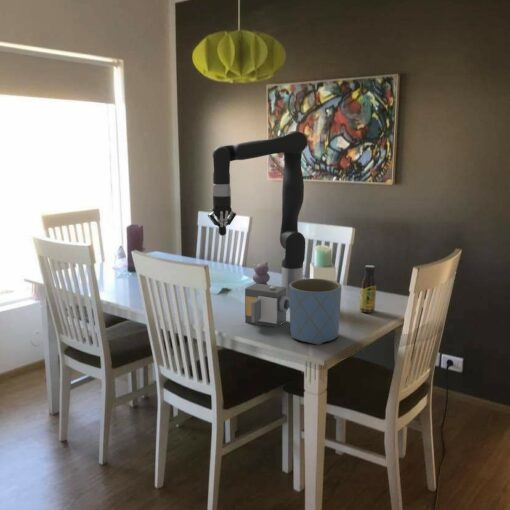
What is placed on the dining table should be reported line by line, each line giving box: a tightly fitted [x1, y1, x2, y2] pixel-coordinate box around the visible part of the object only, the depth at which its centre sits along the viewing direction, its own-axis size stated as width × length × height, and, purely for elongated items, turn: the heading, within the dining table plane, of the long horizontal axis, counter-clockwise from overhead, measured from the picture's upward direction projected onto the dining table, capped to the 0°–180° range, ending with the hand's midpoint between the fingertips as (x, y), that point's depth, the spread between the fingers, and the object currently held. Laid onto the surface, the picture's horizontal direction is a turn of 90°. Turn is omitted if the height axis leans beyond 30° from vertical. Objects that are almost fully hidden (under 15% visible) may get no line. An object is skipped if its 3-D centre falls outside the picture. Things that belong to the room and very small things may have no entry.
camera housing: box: [244, 282, 290, 328], centre depth 222 cm, size 16×9×15 cm, turn 62°
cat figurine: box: [252, 261, 270, 285], centre depth 274 cm, size 8×8×12 cm
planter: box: [289, 278, 342, 346], centre depth 205 cm, size 19×19×20 cm
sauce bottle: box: [359, 264, 377, 313], centre depth 234 cm, size 7×6×20 cm
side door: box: [251, 296, 277, 324], centre depth 214 cm, size 8×6×10 cm
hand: (222, 235), depth 236 cm, fingers closed
